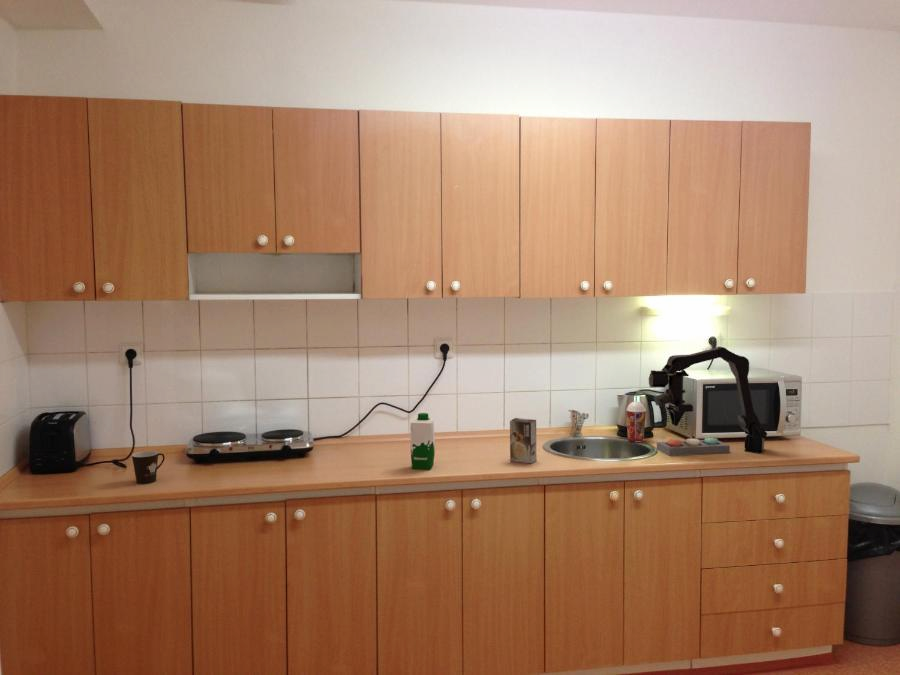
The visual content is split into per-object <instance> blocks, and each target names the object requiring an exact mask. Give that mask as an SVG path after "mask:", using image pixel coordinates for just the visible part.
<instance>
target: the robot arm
mask: <svg viewBox="0 0 900 675" xmlns="http://www.w3.org/2000/svg"><path fill="white" fill-rule="evenodd" d="M719 358H720V359H721V360H723V361H724V362H726V363H727V364H728V366H729V368H730V371H731V372H732V374H733V376H734V378H735V382H736V388H737V393H738V399H739V403H740V409H741V413H740V415H736V416H737V419H738V426H739V427H740V428H741V429H742V430H743V431H744V434H745V438H744V450H743V451H744V452H747V453H748V452H750V453H757V454H762V453H764V452H765V451H766V449H765V439H766V438H767V435H768V432H767V431H765V429H763V427H762V424H761V421H760V419H759V416H758V415H757V414H756V412H755V408H754V404H753V398H752V394H751V387H750V383H749V377H748V376H749V373H750V361H749V359H748V358H747V357H746V356H742V355H739V354H735V353H734V352H732V351H731V350H728V349H727V348H726V347H724V346H716V347H714V348H710V349H706V350H703V351H699V352H695V353H691V354H675V355H670V356H669V357H668V359H667V361H666V364H665V365H664V366H663V368H662V369H661V370H650V374H649V377H648V385H649V387H650V388H666V386H668V387H667V388H666V389H665V391H664V393H661V394H659V395H655V396H654V397H653V400H654V403H655V406H658V407H663V408H664V409H665V410H666V411H667V412H668V414H669V417H670V420H671V424H672V426H674V427H677V426H679V424H680V421H681V419H682V418H683V417H684V414H685V413H686V412H688V413H689V412H694V406H693V405H692V404H691V403H688V402H686V401H685V399H684V394H685V393H686V390H685V389H684V377H689V376H690V374H689V373H688V372H686V369H689V368H690V367H691V366H693V365H696V364H699V363H704V362H707V361H711V360H715V359H719Z"/></svg>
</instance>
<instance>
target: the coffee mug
mask: <svg viewBox="0 0 900 675" xmlns="http://www.w3.org/2000/svg"><path fill="white" fill-rule="evenodd" d="M159 456H162V459H161V462H160V464H159V465H158V462H159V459H158V458H159ZM131 458H132V463H133V464H132V465H133V470H134V474H135V480H136V481H135V482H136V484H138V485H149V484H153V483H155V482H157V473H158V469H159V468H160V467H161V466H162V465H163V463H164V461H165V459H166V458H165V455H164V453H159V452H158V451H155V450H143V451H139V452H135V453H134V452H133V453H132V454H131Z"/></svg>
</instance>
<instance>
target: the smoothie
mask: <svg viewBox="0 0 900 675" xmlns="http://www.w3.org/2000/svg"><path fill="white" fill-rule="evenodd" d="M625 410H626V411H625V412H626V428H627V433H626V434H627V438H628V441H629V440H630V441H629V442H631V441H642V440H644V438H645V429H646V416H647V409H646V408H645V406H644V404H643V403H642V402H640V401H639V400H638V395H637V394H635V400H634V401H632V402H630V403H629V404H628V406H627V407H626V409H625ZM642 442H643V441H642Z"/></svg>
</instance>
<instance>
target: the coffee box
mask: <svg viewBox="0 0 900 675" xmlns="http://www.w3.org/2000/svg"><path fill="white" fill-rule="evenodd" d="M509 457H510V458H509V460H510V462H516V463H525V464H533V463H534V462H536V461H537V460H538V459H537V457H538V456H537V420H536V419H532V418H531V419H530V418H518V417H514V418H513V419H510V421H509Z"/></svg>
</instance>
